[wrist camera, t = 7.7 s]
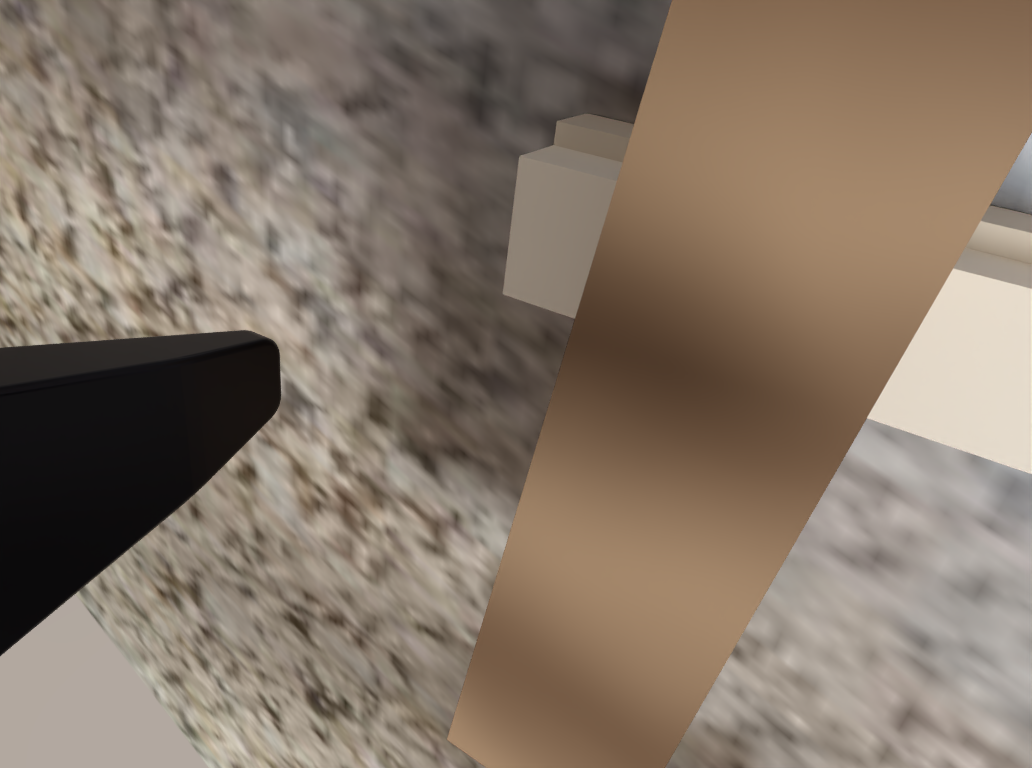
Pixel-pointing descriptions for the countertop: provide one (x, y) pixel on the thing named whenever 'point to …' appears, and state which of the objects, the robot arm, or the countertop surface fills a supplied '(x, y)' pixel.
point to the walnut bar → (732, 348)
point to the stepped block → (926, 362)
